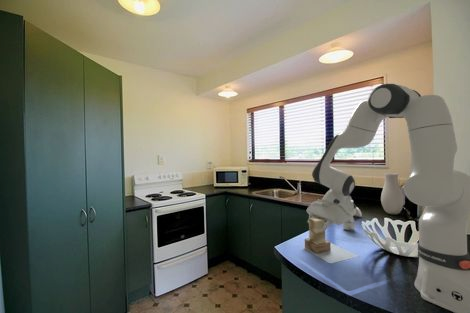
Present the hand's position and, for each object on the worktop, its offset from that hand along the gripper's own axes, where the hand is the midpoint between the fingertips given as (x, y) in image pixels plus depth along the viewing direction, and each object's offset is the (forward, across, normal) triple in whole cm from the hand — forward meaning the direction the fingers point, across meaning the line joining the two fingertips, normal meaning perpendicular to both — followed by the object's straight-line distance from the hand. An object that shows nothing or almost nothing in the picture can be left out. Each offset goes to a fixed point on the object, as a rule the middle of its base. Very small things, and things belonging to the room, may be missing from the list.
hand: (315, 225), depth 101 cm
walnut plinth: (+8, 0, +9) cm, 12 cm away
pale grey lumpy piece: (-36, -37, +53) cm, 74 cm away
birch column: (+4, 0, +5) cm, 7 cm away
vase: (-59, -29, +76) cm, 101 cm away
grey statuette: (-18, -16, +35) cm, 43 cm away
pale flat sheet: (+6, +4, +11) cm, 13 cm away
